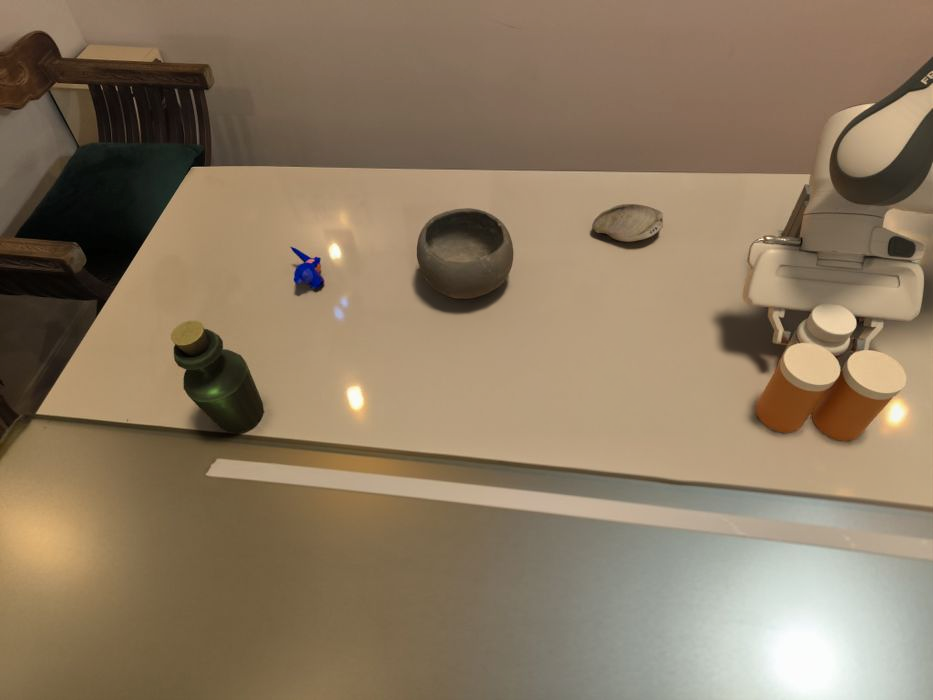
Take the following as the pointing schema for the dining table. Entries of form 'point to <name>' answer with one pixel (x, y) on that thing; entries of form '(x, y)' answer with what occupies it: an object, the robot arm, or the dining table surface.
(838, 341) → the pill bottle
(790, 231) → the grey boxes
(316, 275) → the figurine
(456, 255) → the bowl
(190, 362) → the potion bottle
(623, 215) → the seashell
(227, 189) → the dining table surface
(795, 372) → the matching pill bottles
